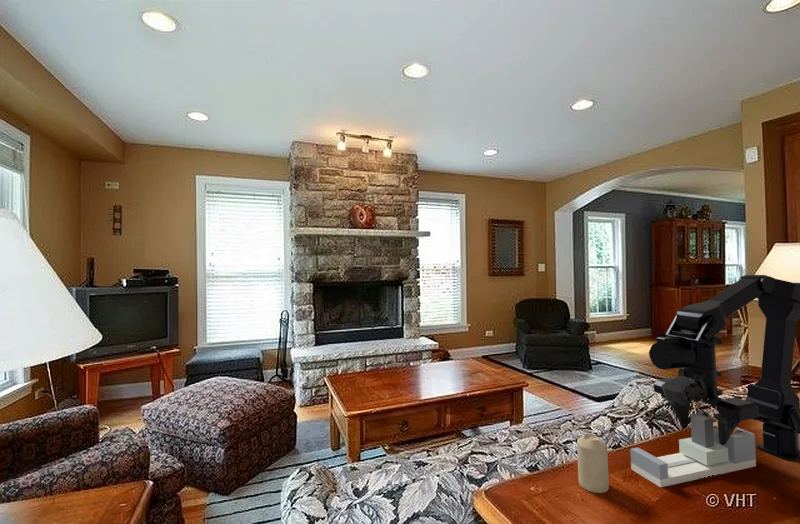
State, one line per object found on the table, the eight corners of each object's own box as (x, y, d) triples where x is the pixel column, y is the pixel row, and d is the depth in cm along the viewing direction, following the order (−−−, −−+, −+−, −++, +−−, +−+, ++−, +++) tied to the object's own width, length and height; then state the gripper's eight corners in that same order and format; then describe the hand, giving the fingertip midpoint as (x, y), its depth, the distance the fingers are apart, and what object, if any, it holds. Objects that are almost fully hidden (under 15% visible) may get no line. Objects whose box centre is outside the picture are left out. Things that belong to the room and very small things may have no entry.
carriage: (700, 448, 86) (698, 409, 86) (728, 461, 80) (726, 419, 80) (679, 452, 84) (677, 413, 84) (707, 465, 79) (705, 423, 79)
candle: (613, 494, 73) (610, 443, 73) (582, 492, 74) (580, 442, 74) (603, 479, 79) (601, 431, 79) (575, 476, 80) (573, 430, 80)
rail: (721, 451, 88) (720, 421, 88) (756, 466, 81) (754, 433, 81) (631, 469, 82) (629, 437, 82) (660, 487, 75) (658, 452, 75)
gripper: (633, 358, 90) (636, 424, 89) (716, 381, 71) (720, 463, 71) (670, 354, 92) (673, 417, 92) (759, 375, 74) (762, 454, 74)
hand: (702, 436), depth 82 cm, fingers open, 8 cm apart
